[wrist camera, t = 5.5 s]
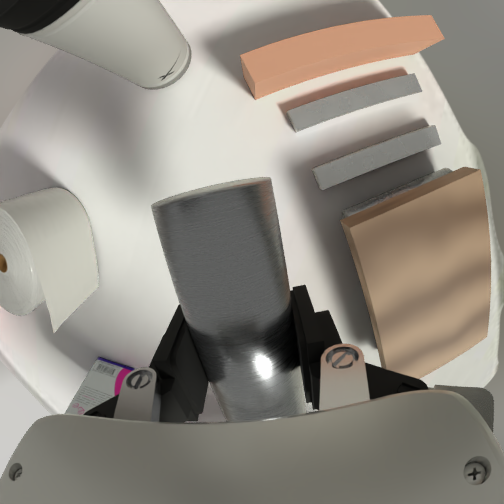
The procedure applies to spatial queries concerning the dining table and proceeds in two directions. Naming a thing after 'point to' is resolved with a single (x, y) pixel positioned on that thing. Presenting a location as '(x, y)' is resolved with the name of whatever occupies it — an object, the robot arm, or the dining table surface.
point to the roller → (235, 294)
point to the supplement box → (98, 386)
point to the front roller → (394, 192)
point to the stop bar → (335, 51)
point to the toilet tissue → (46, 254)
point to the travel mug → (107, 35)
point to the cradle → (373, 154)
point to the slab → (425, 271)
